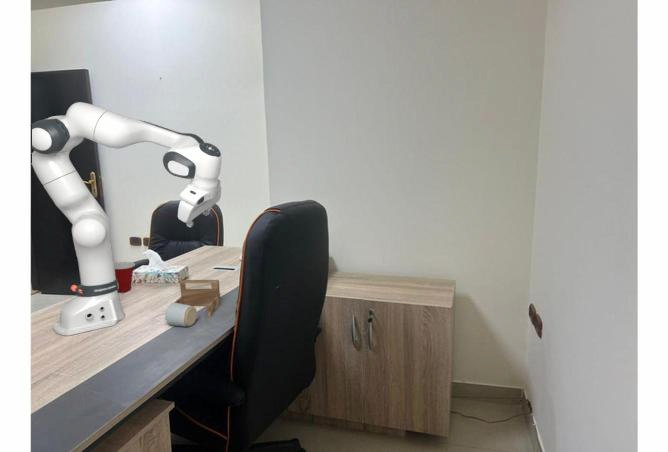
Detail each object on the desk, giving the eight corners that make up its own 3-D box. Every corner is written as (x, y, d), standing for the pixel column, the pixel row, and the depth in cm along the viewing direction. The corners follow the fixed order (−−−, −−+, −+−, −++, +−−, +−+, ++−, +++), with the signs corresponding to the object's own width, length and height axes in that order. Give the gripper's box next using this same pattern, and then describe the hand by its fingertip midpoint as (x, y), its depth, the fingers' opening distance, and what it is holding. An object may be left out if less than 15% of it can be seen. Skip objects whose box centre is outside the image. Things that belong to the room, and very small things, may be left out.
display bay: (210, 316, 162) (208, 290, 160) (170, 317, 162) (168, 290, 161) (220, 304, 174) (218, 279, 172) (183, 304, 175) (181, 280, 173)
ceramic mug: (186, 330, 150) (184, 308, 149) (165, 328, 152) (163, 306, 151) (204, 319, 160) (202, 298, 159) (184, 317, 162) (182, 296, 161)
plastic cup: (133, 293, 190) (130, 266, 188) (106, 295, 189) (103, 268, 187) (140, 286, 201) (138, 260, 199) (115, 287, 199) (112, 261, 197)
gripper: (213, 173, 162) (207, 204, 170) (176, 196, 146) (172, 228, 153) (228, 181, 161) (221, 211, 169) (192, 204, 145) (187, 237, 152)
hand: (197, 220), depth 161 cm, fingers open, 8 cm apart
